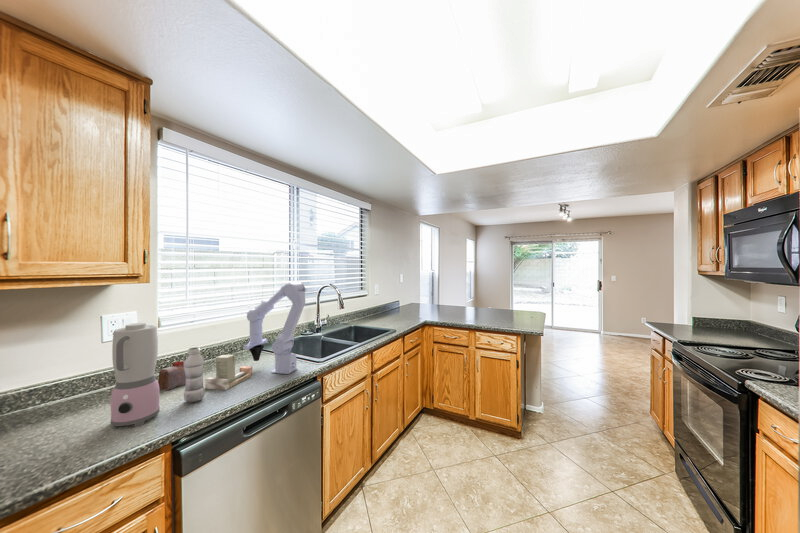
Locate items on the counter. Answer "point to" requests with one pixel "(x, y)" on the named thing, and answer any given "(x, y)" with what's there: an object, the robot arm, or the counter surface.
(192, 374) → the plastic bottle
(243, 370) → the peach and white mallet
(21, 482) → the counter surface
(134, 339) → the blender
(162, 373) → the food item
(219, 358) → the skincare box
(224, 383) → the channel
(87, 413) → the counter surface
